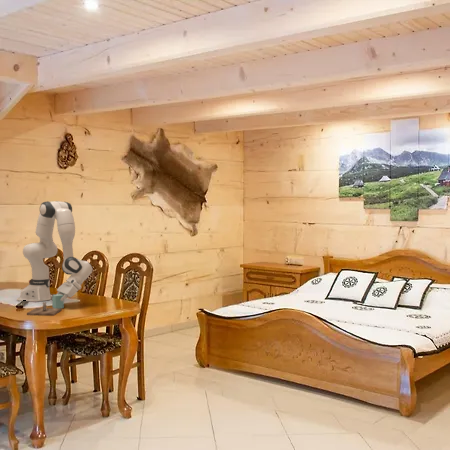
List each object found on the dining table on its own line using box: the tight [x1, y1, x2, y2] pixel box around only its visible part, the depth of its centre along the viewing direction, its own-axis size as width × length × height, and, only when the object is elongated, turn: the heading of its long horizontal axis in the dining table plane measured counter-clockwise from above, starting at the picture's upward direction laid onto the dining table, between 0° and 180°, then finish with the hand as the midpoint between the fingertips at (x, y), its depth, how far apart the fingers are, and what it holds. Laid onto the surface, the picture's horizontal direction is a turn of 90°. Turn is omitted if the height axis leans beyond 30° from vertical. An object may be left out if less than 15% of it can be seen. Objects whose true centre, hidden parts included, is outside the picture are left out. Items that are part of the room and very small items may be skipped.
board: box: [26, 301, 63, 317], centre depth 366 cm, size 16×16×6 cm
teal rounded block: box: [51, 293, 65, 309], centre depth 383 cm, size 5×6×8 cm
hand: (58, 299), depth 383 cm, fingers open, 8 cm apart
